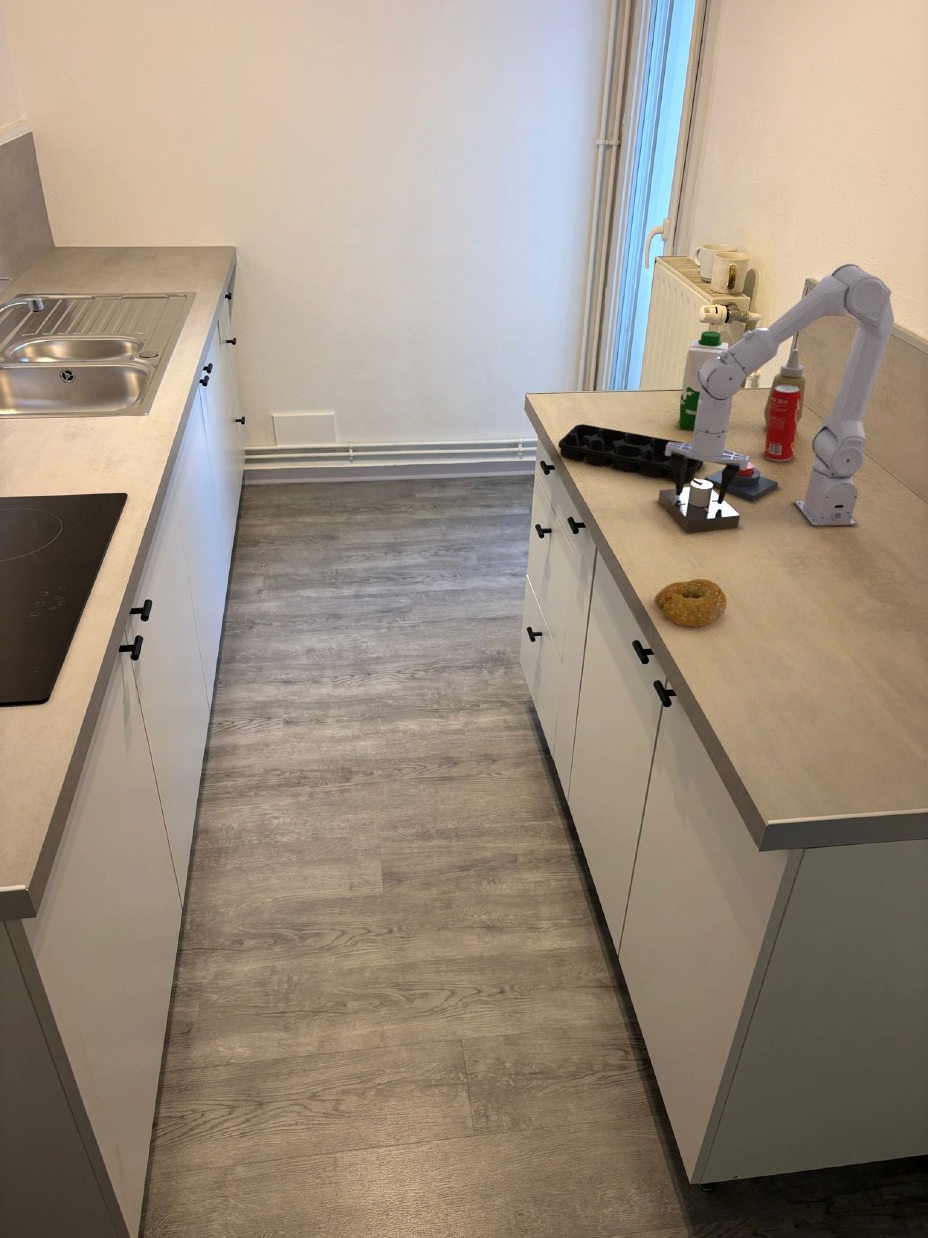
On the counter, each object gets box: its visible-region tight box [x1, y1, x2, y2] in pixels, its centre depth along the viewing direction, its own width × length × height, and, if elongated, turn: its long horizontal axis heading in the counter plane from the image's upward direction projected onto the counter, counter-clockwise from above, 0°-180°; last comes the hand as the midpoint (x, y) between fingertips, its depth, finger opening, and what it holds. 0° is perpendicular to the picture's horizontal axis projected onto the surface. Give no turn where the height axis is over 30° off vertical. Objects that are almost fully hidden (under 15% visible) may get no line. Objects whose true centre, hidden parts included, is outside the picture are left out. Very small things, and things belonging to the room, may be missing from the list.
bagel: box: [654, 578, 727, 628], centre depth 149 cm, size 10×11×5 cm
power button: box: [737, 461, 755, 476], centre depth 188 cm, size 4×4×2 cm
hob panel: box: [657, 486, 741, 534], centre depth 178 cm, size 13×10×3 cm
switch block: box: [704, 467, 779, 503], centre depth 189 cm, size 11×9×3 cm
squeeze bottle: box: [763, 348, 806, 429], centre depth 210 cm, size 8×8×18 cm
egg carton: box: [558, 423, 704, 484], centre depth 198 cm, size 18×30×4 cm, turn 76°
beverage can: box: [764, 384, 801, 462], centre depth 198 cm, size 6×6×15 cm
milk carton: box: [679, 330, 729, 432], centre depth 211 cm, size 9×9×20 cm
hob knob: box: [688, 478, 714, 507], centre depth 176 cm, size 4×4×4 cm
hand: (699, 497), depth 177 cm, fingers open, 7 cm apart
